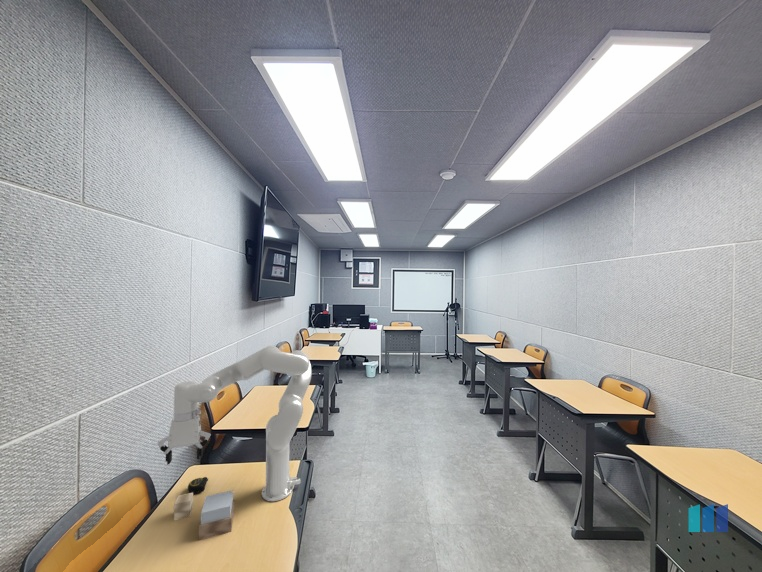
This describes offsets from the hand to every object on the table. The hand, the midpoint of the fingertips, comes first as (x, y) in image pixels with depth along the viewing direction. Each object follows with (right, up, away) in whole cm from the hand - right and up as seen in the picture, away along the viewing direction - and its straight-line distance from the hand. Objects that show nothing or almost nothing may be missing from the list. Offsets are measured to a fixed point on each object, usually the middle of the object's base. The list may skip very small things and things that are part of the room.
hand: (184, 459), depth 112 cm
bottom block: (+16, -21, -6) cm, 27 cm away
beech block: (0, -21, -1) cm, 21 cm away
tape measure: (-3, -21, +13) cm, 25 cm away
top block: (+16, -16, -6) cm, 23 cm away
